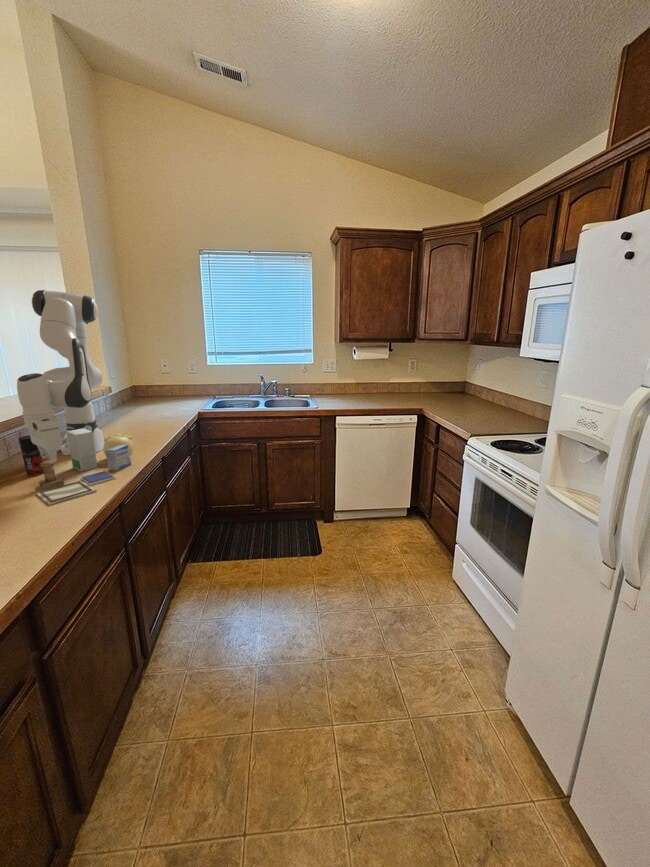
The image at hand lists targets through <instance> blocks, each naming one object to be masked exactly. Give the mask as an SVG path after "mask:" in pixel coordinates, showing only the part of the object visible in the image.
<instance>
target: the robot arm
mask: <svg viewBox="0 0 650 867" xmlns="http://www.w3.org/2000/svg"><path fill="white" fill-rule="evenodd" d="M31 307H32V308H33V312H34V313H35V314H36V315H37V316H39V317H40V322H39V337H40V339H41V341H42V342H43V343H44V345H46V346H47V348H50V349H52V350H54V351H56V352H58V354H59V355H61V357H63V358H65V359H67V361H68V365H69V366H66V367H57V368H53V369H49V370H46V371H44V372H43V373H40V372H39V373H38V372H37V373H36V372H35V373H28V374H25V375H21V376H19V377H18V378H17V379H16V390H17V395H18V396H17V397H18V401H19V404H20V405H21V407H22V417H23V422H24V425H25V429H27V430H28V431H29V435H30V438H31V441H32V443H33V444H35V445H37V447H38V449H39V451H40V454H41V456H42V458H47V457H48V456H49V457H48V458H49V461H51V462H54V463H56V462H57V461H58V457H57V456H58V451H61V453H62V455H63V456H71V453H70V447H69V441H68V435H67V431H72V430H77V429H82V428H83V429H86V430H89V431H92V432H93V439H94V446H95V453H97V452H100V451H102V450H103V447H104V443H105V441H104V439H105V438H104V435H103V431H102V429H100V428H98V421H97V419H96V417H95V410H94V404H93V403H92V402H91V400H92V397H93V393H92V389H93V388H96V387H99V386H100V385H101V384H102V382H103V373H102V371H101V370H100V369H99V368H98V367H97V366H96V365H95V364H93V362H92V361H91V358H90V355H89V350H88V347H89V346H88V334H87V325H89V324H90V323H93V322H94V321H96V319H97V317H98V315H99V308H98V304H97V301H96V300H95V299H94V298H93V297H91V296H88V295H85V294H84V295H83V294H82V295H81V294H78V293H73V292H68V291H65V292H64V291H54V290H53V291H52V290H47V289H41V290H40V289H39V290H36V291H35V292H34V293H33V294H32V297H31ZM54 408H63V410H64V414H65V418H66V419H65V420H66V423H65V424H66V425H65V426H66V432H65V435H64V436H63V438H62V437H61V433H60V429H59V428H61V423H60V421H59V420H58V418H57V417H56V413H55V410H54Z"/></svg>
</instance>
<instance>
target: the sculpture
mask: <svg viewBox="0 0 650 867" xmlns="http://www.w3.org/2000/svg"><path fill="white" fill-rule="evenodd" d="M118 445H128V447H129V454H130V457H131V456H132V455H133V452H134V442H133V437H132V436H131V435H126V434H121V433H116V434H114V435H110V436H107V437H105V438H104V447H103V454H104V456H105V458H107V456H106V450H108V449H110V448H113V447H115V446H118Z"/></svg>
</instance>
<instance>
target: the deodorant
mask: <svg viewBox="0 0 650 867" xmlns="http://www.w3.org/2000/svg"><path fill="white" fill-rule="evenodd" d="M18 443H19V446H20V451H21V455H22V459H23V463H24V464H23V465H24V467H25V468H24V469H25V472H26V476H27V477H37V476H42V475H44V472H43V468H42V467H41V465H40V464H41V463H43V462H44V459H43V458H44V457H42V456H41V454H40V451H39V449H38V447H37V445H35V444H33V443H32V441H31V438H30V434H28V435H24V436H20V437H18Z"/></svg>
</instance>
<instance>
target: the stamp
mask: <svg viewBox="0 0 650 867" xmlns="http://www.w3.org/2000/svg"><path fill="white" fill-rule="evenodd" d="M40 465H41V467H42V468H43V472H44V474H43V477H44V479H42V480H38V484H39V487H40V488H41V489H43V491H44V490H48V489H52V488H56V487H59V486H63V485H65V482H64V479H62V478H61V477H59V475H56V471H55V467H54V465H55V462H51V461H50V460H46V461H43V463H41V464H40Z"/></svg>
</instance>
